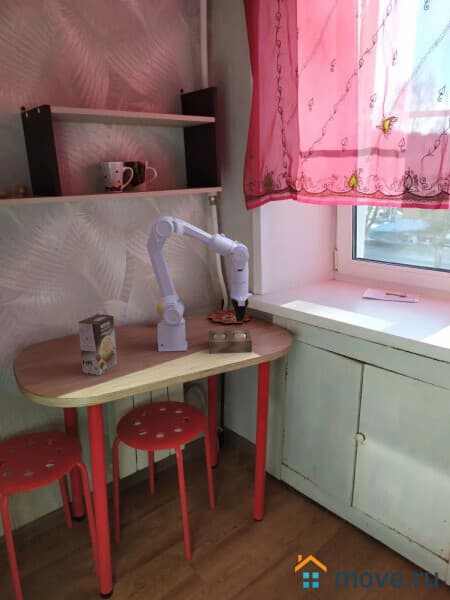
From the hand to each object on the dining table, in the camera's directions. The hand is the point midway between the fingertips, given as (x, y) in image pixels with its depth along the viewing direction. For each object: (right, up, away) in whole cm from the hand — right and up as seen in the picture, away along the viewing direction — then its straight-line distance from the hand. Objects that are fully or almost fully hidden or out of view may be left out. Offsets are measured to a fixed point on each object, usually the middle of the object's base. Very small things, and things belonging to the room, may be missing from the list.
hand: (239, 320), depth 156 cm
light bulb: (-28, -4, +24) cm, 37 cm away
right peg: (0, -9, +2) cm, 9 cm away
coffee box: (-43, -14, -14) cm, 47 cm away
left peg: (-7, -9, +2) cm, 12 cm away
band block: (-3, -9, +2) cm, 10 cm away
